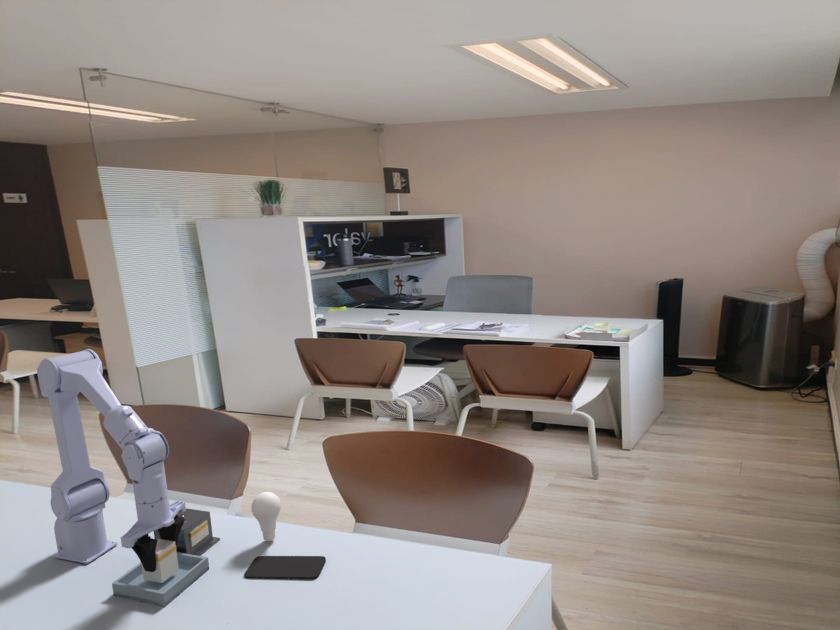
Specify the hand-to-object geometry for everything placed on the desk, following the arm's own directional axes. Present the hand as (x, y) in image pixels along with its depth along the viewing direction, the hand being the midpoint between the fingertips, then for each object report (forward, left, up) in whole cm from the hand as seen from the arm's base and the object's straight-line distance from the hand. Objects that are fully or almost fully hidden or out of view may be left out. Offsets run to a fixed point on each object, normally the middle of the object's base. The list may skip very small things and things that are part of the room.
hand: (160, 562), depth 118 cm
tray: (0, 0, -4) cm, 4 cm away
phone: (+21, +10, -5) cm, 24 cm away
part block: (0, 0, -2) cm, 3 cm away
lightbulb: (+12, +18, -4) cm, 22 cm away
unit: (-4, +11, -4) cm, 12 cm away
